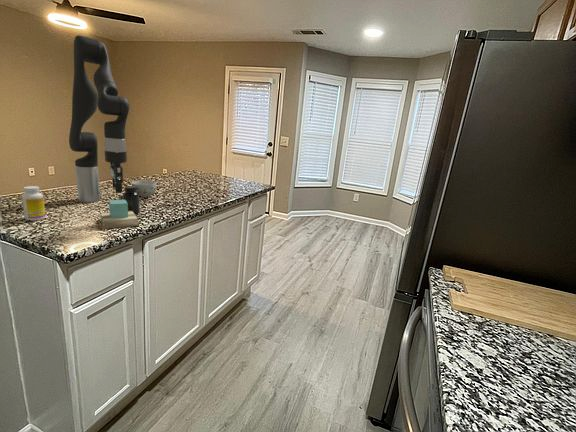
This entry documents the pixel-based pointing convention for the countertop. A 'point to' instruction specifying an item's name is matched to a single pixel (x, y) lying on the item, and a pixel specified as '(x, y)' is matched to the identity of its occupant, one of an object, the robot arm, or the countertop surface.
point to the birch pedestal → (119, 220)
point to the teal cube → (118, 208)
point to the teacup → (145, 187)
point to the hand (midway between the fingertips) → (117, 190)
